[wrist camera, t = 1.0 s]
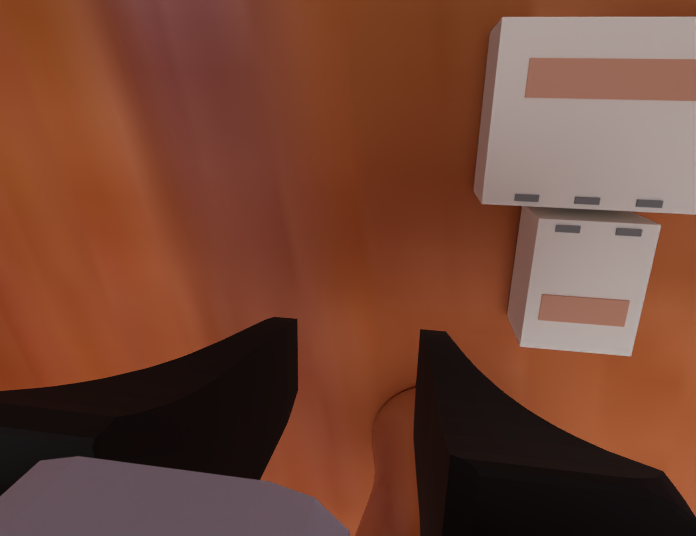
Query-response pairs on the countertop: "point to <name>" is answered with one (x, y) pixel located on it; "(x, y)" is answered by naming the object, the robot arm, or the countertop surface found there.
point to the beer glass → (393, 472)
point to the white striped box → (590, 114)
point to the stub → (580, 278)
